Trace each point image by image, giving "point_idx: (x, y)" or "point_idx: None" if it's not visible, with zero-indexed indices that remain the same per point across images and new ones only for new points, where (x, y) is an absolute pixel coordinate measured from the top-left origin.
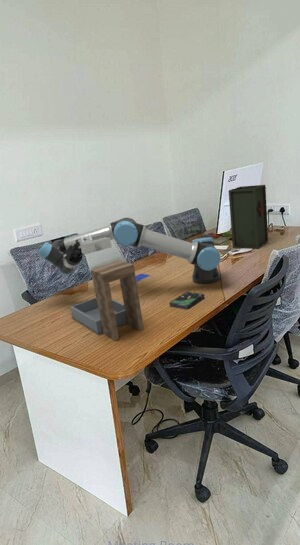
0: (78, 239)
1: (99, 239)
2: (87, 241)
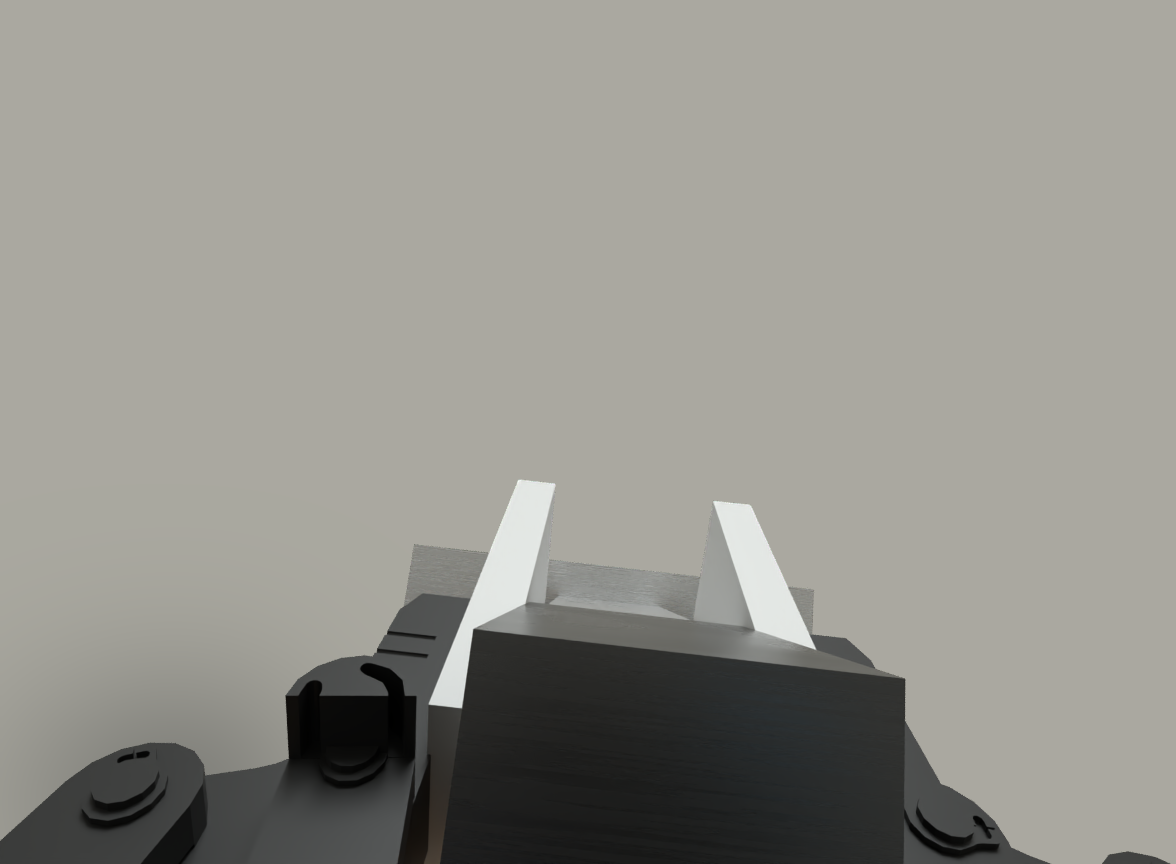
0: (723, 646)
1: None
2: (622, 612)
